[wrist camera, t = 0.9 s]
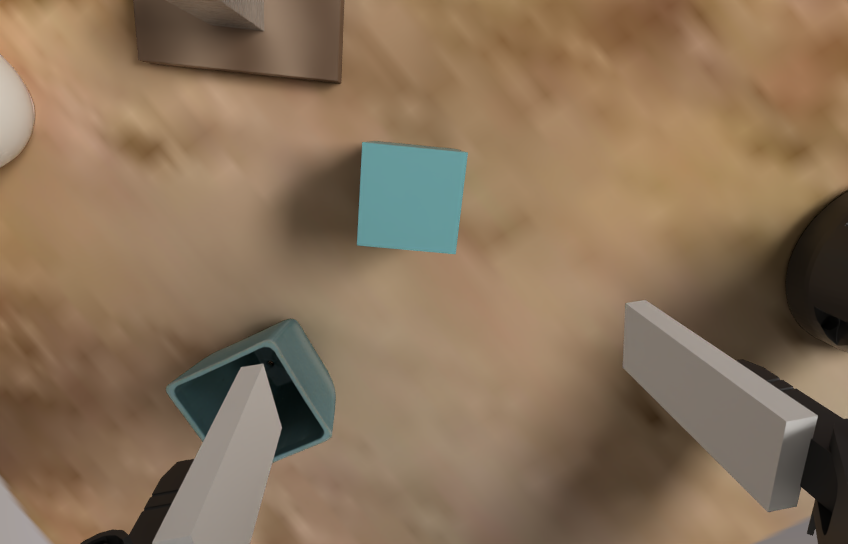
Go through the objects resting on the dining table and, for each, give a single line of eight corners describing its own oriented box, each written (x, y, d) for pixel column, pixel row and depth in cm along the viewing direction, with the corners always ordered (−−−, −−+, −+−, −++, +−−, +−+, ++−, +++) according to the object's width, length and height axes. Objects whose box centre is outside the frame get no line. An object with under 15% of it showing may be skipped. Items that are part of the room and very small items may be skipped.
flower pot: (217, 333, 39) (160, 388, 30) (304, 292, 38) (270, 337, 29) (269, 410, 41) (230, 482, 33) (352, 373, 40) (334, 438, 32)
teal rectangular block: (455, 148, 34) (467, 152, 26) (446, 226, 36) (455, 254, 28) (376, 141, 34) (362, 142, 26) (371, 219, 36) (357, 245, 27)
